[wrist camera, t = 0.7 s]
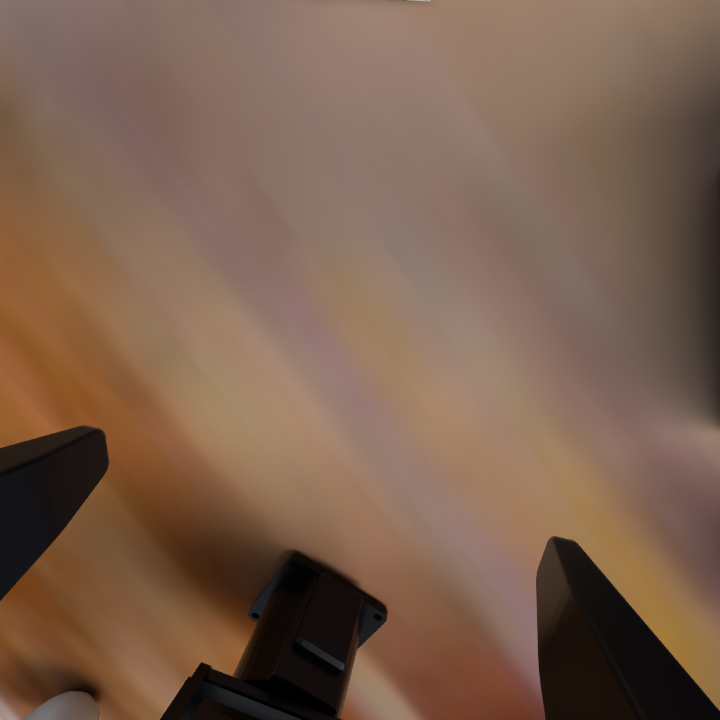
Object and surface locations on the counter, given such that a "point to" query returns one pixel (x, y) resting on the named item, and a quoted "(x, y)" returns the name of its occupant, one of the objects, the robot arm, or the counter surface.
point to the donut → (67, 708)
